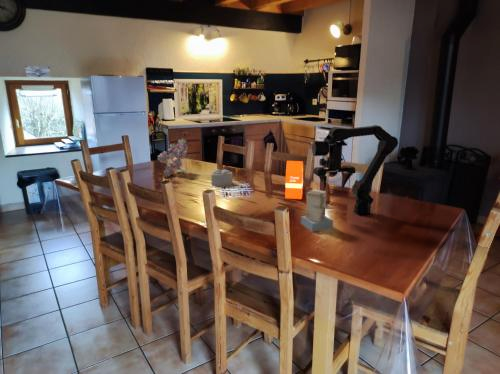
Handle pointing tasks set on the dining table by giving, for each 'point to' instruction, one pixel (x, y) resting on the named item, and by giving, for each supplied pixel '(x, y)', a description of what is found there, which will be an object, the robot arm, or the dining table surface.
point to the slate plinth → (317, 224)
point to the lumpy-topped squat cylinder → (221, 177)
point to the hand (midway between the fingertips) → (333, 188)
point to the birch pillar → (315, 205)
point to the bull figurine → (308, 190)
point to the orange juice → (294, 179)
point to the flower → (177, 152)
